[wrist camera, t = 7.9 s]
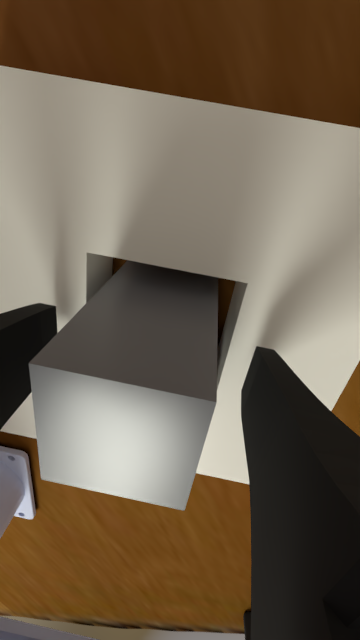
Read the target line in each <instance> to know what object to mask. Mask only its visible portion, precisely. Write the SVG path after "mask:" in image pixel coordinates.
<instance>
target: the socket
mask: <svg viewBox="0 0 360 640" xmlns="http://www.w3.org/2000/svg"><path fill="white" fill-rule="evenodd" d="M113 257H114V258H119V259H124V260H130V261H135V262H140V263H145V264H150V265H156V266H161V267H166V268H171V269H176V270H182V271H187V272H192V273H197V274H202V275H208V276H213V277H218V278H223V279H228V280H233V281H236V283H235V287H234V290H233V294H232V298H231V302H230V305H229V309H228V313H227V317H226V321H225V324H224V328H223V332H222V336H221V339H220V343H219V347H218V351H217V403H216V406H215V409H214V413H213V416H212V420H211V423H210V426H209V430H208V433H207V436H206V440H205V443H204V446H203V450H202V453H201V456H200V460H199V463H198V467H197V470H196V473H199V474H204V475H208V476H213V477H218V478H222V479H227V480H232V481H236V482H241V483H246V484H249V475H248V467H247V459H246V452H245V444H244V436H243V428H242V420H241V390H242V387H243V384H244V381H245V378H246V375H247V372H248V369H249V366H250V363H251V360H252V357H253V354H254V351H255V348H256V346H259V347H264V348H269V349H274V350H275V351H276V352H277V353H278V354H279V355H280V357H281V358H282V359H283V360H284V361H285V362H286V363H287V365H288V366H289V367H290V368H291V369H292V370H293V372H294V373H295V374H296V375H297V376H298V377H299V378H300V380H301V381H302V382H303V383H304V384H305V385H306V386H307V387H308V388H309V390H310V391H311V392H312V393H313V394H314V395H315V396H316V397H317V398H318V399H319V400H320V401H321V402H322V403H323V404H324V405H325V406H326V407H327V408H328V409H329V410H330V411H332V409H333V407H334V405H335V403H336V402H337V400H338V398H339V396H340V395H341V393H342V391H343V389H344V387H345V386H346V384H347V382H348V380H349V378H350V377H351V375H352V373H353V371H354V369H355V368H356V366H357V364H358V362H359V360H360V128H356V127H351V126H345V125H339V124H333V123H328V122H322V121H316V120H310V119H305V118H299V117H293V116H287V115H282V114H276V113H270V112H264V111H259V110H253V109H247V108H241V107H236V106H230V105H224V104H218V103H213V102H207V101H201V100H195V99H190V98H184V97H178V96H172V95H167V94H161V93H155V92H149V91H144V90H138V89H132V88H126V87H121V86H115V85H109V84H103V83H98V82H92V81H86V80H80V79H75V78H69V77H63V76H57V75H52V74H46V73H40V72H34V71H29V70H23V69H17V68H11V67H6V66H0V314H1V313H4V312H8V311H11V310H14V309H17V308H21V307H24V306H28V305H32V304H36V303H43V304H48V305H53V306H56V316H57V333H58V332H59V331H60V330H61V329H62V328H63V327H64V326H65V325H66V324H67V323H68V322H69V321H70V320H71V319H72V318H73V317H74V316H75V314H76V313H77V312H78V311H79V310H80V309H81V308H82V307H83V306H84V305H85V304H86V303H87V302H88V301H89V300H90V299H91V298H92V297H93V296H94V295H95V294H96V293H97V292H98V291H99V290H100V288H101V287H102V286H103V285H104V284H105V283H106V282H107V281H108V280H109V279H110V278H111V277H112V267H113ZM0 431H3V432H7V433H12V434H17V435H21V436H26V437H31V438H35V439H37V436H36V427H35V418H34V408H33V399H32V392H31V393H30V395H29V396H28V397H27V398H26V399H25V401H24V402H23V403H22V404H21V405H20V407H19V408H18V409H17V410H16V411H15V413H14V414H13V415H12V416H11V417H10V419H9V420H8V421H7V422H6V423H5V425H4V426H3V427H2V429H1V430H0Z"/></svg>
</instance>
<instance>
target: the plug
mask: <svg viewBox="0 0 360 640" xmlns="http://www.w3.org/2000/svg"><path fill="white" fill-rule="evenodd" d="M217 341H218V277H213V276H208V275H202V274H197V273H192V272H187V271H182V270H176V269H171V268H166V267H161V266H156V265H150V264H145V263H140V262H135V261H130V260H127V261H126V262H125V264H124V265H123V266H122V267H121V268H120V269H119V270H118V271H117V272H116V273H115V274H114V275H113V276H112V277H111V278H110V279H109V280H108V281H107V282H106V283H105V284H104V285H103V286H102V287H101V288H100V290H99V291H98V292H97V293H96V294H95V295H94V296H93V297H92V298H91V299H90V300H89V301H88V302H87V303H86V304H85V305H84V306H83V307H82V308H81V309H80V310H79V311H78V312H77V313H76V314H75V316H74V317H73V318H72V319H71V320H70V321H69V322H68V323H67V324H66V325H65V326H64V327H63V328H62V329H61V330H60V331H59V332H58V333H57V334H56V335H55V336H54V337H53V338H52V339H51V340H50V342H49V343H48V344H47V345H46V346H45V347H44V348H43V349H42V350H41V351H40V352H39V353H38V354H37V355H36V356H35V357H34V358H33V359H32V360H31V361H30V362H29V372H30V381H31V390H32V399H33V408H34V418H35V427H36V436H37V445H38V455H39V464H40V473H41V479H42V480H47V481H51V482H56V483H61V484H65V485H70V486H74V487H79V488H83V489H88V490H93V491H97V492H102V493H106V494H111V495H115V496H120V497H124V498H129V499H134V500H138V501H143V502H147V503H152V504H156V505H161V506H165V507H170V508H175V509H179V510H185V507H186V503H187V500H188V497H189V493H190V490H191V487H192V483H193V480H194V477H195V473H196V470H197V467H198V463H199V460H200V456H201V453H202V450H203V446H204V443H205V440H206V436H207V433H208V430H209V426H210V423H211V420H212V416H213V413H214V409H215V406H216V403H217Z"/></svg>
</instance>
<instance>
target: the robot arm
mask: <svg viewBox="0 0 360 640" xmlns="http://www.w3.org/2000/svg"><path fill="white" fill-rule="evenodd" d="M56 334H57V316H56V306H53V305H48V304H43V303H36V304H32V305H28V306H24V307H21V308H17V309H14V310H11V311H8V312H4V313H1V314H0V430H1V429H2V427H3V426H4V425H5V423H6V422H7V421H8V420H9V419H10V417H11V416H12V415H13V414H14V413H15V411H16V410H17V409H18V408H19V407H20V405H21V404H22V403H23V402H24V401H25V399H26V398H27V397H28V396H29V395H30V393H31V392H32V390H31V381H30V372H29V362H30V361H31V360H32V359H33V358H34V357H35V356H36V355H37V354H38V353H39V352H40V351H41V350H42V349H43V348H44V347H45V346H46V345H47V344H48V343H49V342H50V340H51V339H52V338H53V337H54V336H55V335H56ZM241 420H242V428H243V436H244V444H245V452H246V459H247V467H248V475H249V485H250V505H251V559H252V567H251V640H360V437H359V436H358V435H357V434H356V433H354V432H353V431H352V430H351V429H350V428H349V427H348V426H346V425H345V424H344V423H343V422H342V421H341V420H340V419H339V418H337V417H336V416H335V415H334V414H333V413H332V412H331V411H330V410H329V409H328V408H327V407H326V406H325V405H324V404H323V403H322V402H321V401H320V400H319V399H318V398H317V397H316V396H315V395H314V394H313V393H312V392H311V391H310V390H309V388H308V387H307V386H306V385H305V384H304V383H303V382H302V381H301V380H300V378H299V377H298V376H297V375H296V374H295V373H294V372H293V370H292V369H291V368H290V367H289V366H288V365H287V363H286V362H285V361H284V360H283V359H282V358H281V357H280V355H279V354H278V353H277V352H276V351H275V350H274V349H269V348H264V347H259V346H256V348H255V351H254V354H253V357H252V360H251V363H250V366H249V369H248V372H247V375H246V378H245V381H244V384H243V387H242V390H241ZM35 514H36V509H35V501H34V494H33V487H32V480H31V473H30V465H29V458H28V455H27V453H26V452H24V451H21V450H17V449H12V448H7V447H3V446H0V538H1V537H2V535H3V533H4V531H5V530H6V528H7V526H8V525H9V523H10V521H11V520H12V518H13V516H17V517H21V518H26V519H33V518H34V516H35ZM0 640H98V639H94V638H90V637H85V636H81V635H77V634H73V633H68V632H64V631H59V630H55V629H51V628H47V627H43V626H38V625H34V624H30V623H25V622H21V621H17V620H13V619H8V618H4V617H0Z"/></svg>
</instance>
